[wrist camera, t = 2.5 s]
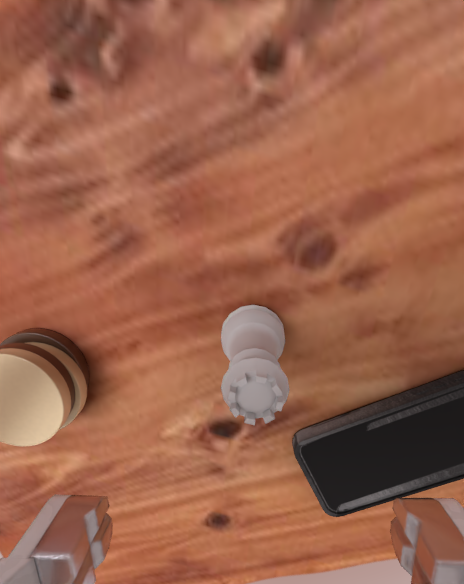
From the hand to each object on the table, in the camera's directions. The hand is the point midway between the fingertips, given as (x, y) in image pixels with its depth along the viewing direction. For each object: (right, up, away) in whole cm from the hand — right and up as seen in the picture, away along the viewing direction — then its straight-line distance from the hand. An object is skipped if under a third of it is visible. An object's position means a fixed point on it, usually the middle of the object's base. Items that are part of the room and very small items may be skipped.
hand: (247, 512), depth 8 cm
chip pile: (-15, 0, +14) cm, 21 cm away
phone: (+12, -5, +14) cm, 19 cm away
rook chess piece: (+1, +3, +13) cm, 13 cm away
